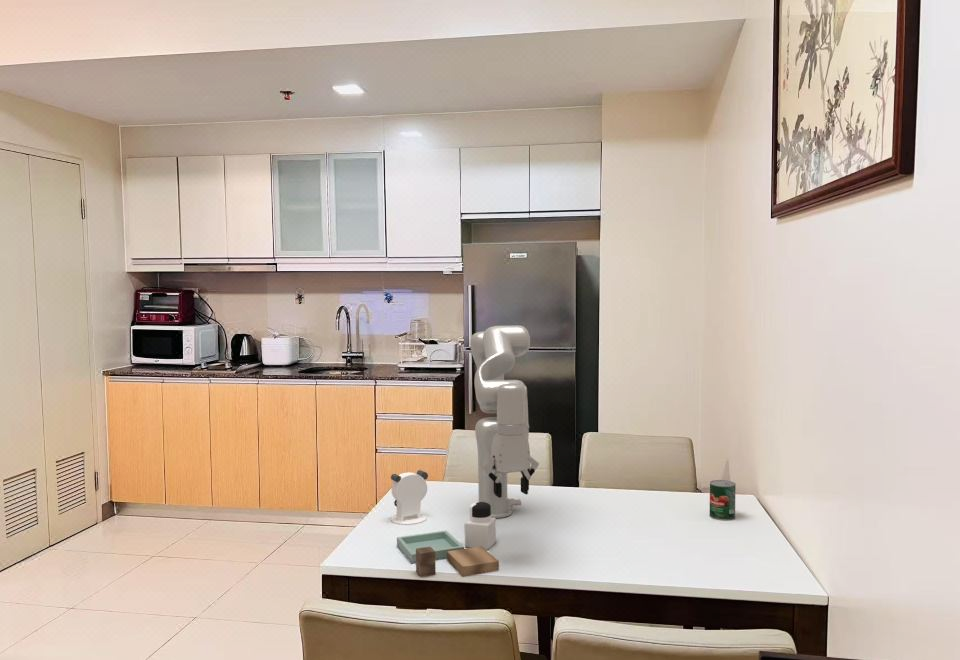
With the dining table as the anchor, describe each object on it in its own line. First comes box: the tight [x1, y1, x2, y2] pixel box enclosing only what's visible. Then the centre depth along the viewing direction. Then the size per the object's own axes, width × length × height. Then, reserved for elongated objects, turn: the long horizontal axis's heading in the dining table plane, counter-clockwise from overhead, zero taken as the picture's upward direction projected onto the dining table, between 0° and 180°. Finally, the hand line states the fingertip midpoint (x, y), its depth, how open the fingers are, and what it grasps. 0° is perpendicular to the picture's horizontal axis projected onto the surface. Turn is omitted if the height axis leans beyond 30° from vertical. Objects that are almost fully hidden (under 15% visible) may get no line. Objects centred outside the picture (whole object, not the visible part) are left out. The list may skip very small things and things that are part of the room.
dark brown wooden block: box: [415, 547, 437, 578], centre depth 186 cm, size 4×4×6 cm
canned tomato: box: [708, 479, 737, 521], centre depth 230 cm, size 8×8×11 cm
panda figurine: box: [390, 469, 429, 526], centre depth 230 cm, size 12×11×15 cm
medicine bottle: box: [464, 501, 497, 551], centre depth 206 cm, size 7×7×12 cm
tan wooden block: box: [446, 546, 500, 578], centre depth 191 cm, size 10×12×3 cm
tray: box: [396, 530, 465, 565], centre depth 202 cm, size 15×15×2 cm
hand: (511, 494), depth 194 cm, fingers open, 7 cm apart
